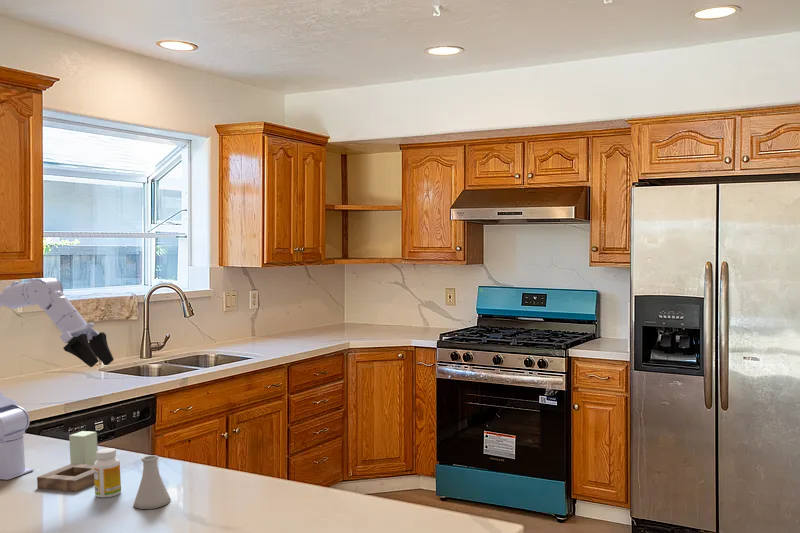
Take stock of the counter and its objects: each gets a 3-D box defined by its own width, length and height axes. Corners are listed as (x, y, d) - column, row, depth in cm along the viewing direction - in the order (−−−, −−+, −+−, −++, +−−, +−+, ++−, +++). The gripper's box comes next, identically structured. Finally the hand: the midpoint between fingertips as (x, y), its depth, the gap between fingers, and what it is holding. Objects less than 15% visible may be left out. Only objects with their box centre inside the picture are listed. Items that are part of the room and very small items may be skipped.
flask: (177, 499, 163) (175, 453, 162) (155, 511, 156) (153, 463, 155) (148, 497, 165) (146, 451, 165) (126, 508, 158) (124, 461, 158)
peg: (70, 467, 190) (69, 435, 190) (83, 462, 194) (82, 430, 194) (85, 468, 189) (83, 436, 188) (98, 463, 193) (96, 431, 193)
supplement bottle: (125, 490, 170) (123, 446, 170) (114, 498, 165) (112, 453, 165) (102, 490, 171) (100, 447, 171) (90, 498, 166) (88, 453, 165)
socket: (37, 487, 174) (36, 477, 174) (73, 473, 185) (72, 463, 184) (75, 491, 170) (75, 480, 170) (110, 476, 181) (109, 466, 181)
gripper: (64, 307, 173) (100, 353, 172) (95, 308, 187) (128, 351, 186) (40, 328, 173) (77, 374, 172) (73, 327, 188) (107, 369, 186)
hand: (102, 363), depth 179 cm, fingers open, 7 cm apart
